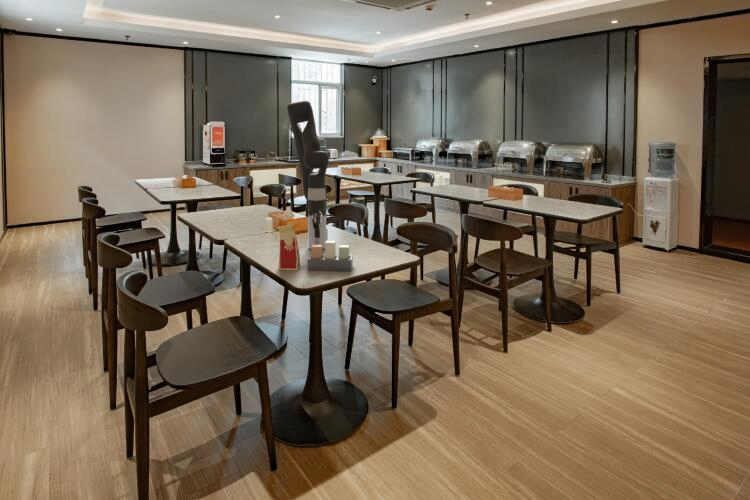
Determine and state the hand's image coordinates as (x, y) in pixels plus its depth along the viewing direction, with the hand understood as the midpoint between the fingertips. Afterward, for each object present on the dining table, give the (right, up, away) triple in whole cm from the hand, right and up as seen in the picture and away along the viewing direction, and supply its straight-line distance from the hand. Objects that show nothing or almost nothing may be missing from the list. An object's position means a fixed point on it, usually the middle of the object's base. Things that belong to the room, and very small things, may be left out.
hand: (317, 237), depth 223 cm
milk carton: (-13, -13, +3) cm, 19 cm away
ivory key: (+6, -9, +2) cm, 11 cm away
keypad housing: (+6, -13, +3) cm, 15 cm away
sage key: (+12, -11, +2) cm, 16 cm away
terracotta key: (0, -11, +2) cm, 11 cm away
